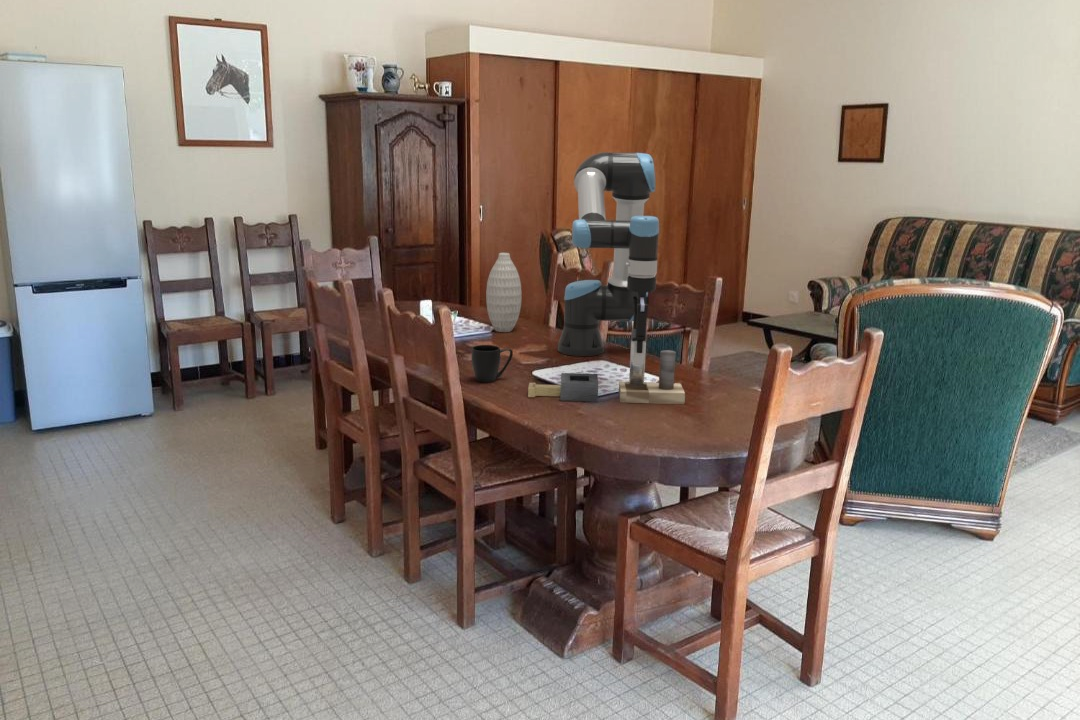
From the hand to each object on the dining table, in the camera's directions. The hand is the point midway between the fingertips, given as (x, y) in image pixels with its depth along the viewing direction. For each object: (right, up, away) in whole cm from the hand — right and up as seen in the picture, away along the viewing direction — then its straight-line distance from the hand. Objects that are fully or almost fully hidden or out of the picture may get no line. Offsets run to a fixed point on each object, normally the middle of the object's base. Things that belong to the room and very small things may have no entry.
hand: (637, 361), depth 231 cm
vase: (-40, +11, +83) cm, 92 cm away
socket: (-16, -9, +3) cm, 18 cm away
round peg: (0, -6, +2) cm, 6 cm away
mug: (-40, -5, +17) cm, 44 cm away
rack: (+4, -10, +2) cm, 11 cm away
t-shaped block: (-24, -9, +3) cm, 26 cm away
